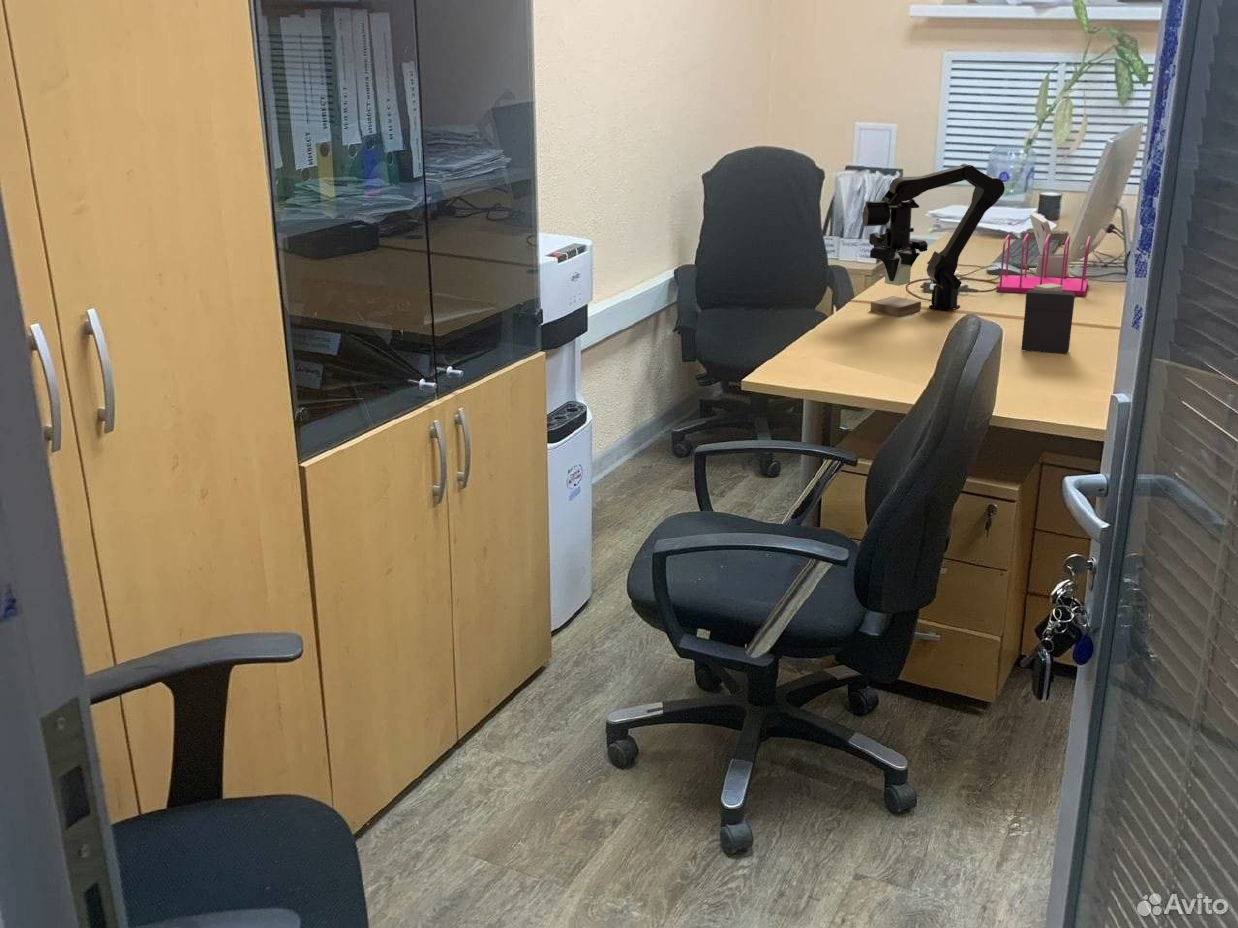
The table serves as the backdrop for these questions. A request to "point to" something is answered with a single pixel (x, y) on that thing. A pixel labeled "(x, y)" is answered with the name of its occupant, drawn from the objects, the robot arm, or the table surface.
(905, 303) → the walnut block
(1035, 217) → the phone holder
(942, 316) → the table surface
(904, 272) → the sage cube
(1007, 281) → the file sorter
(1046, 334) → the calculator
